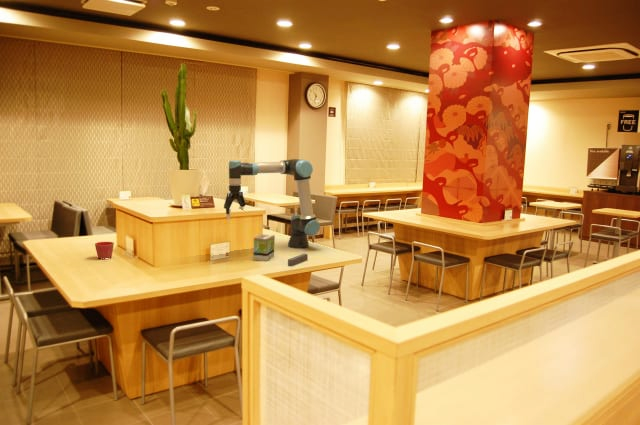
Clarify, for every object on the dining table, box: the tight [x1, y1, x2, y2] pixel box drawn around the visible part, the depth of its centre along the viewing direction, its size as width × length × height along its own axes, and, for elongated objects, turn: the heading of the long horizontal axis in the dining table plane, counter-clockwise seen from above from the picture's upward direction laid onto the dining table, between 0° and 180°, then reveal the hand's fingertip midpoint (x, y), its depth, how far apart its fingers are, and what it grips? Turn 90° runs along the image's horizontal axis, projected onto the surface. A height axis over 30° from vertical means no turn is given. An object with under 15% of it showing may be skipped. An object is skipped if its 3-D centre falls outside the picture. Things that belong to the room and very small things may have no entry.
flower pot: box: [94, 241, 115, 259], centre depth 320 cm, size 11×11×10 cm
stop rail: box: [287, 253, 309, 267], centre depth 320 cm, size 20×3×4 cm, turn 153°
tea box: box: [252, 234, 276, 262], centre depth 329 cm, size 15×10×15 cm, turn 168°
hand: (234, 217), depth 325 cm, fingers open, 13 cm apart
